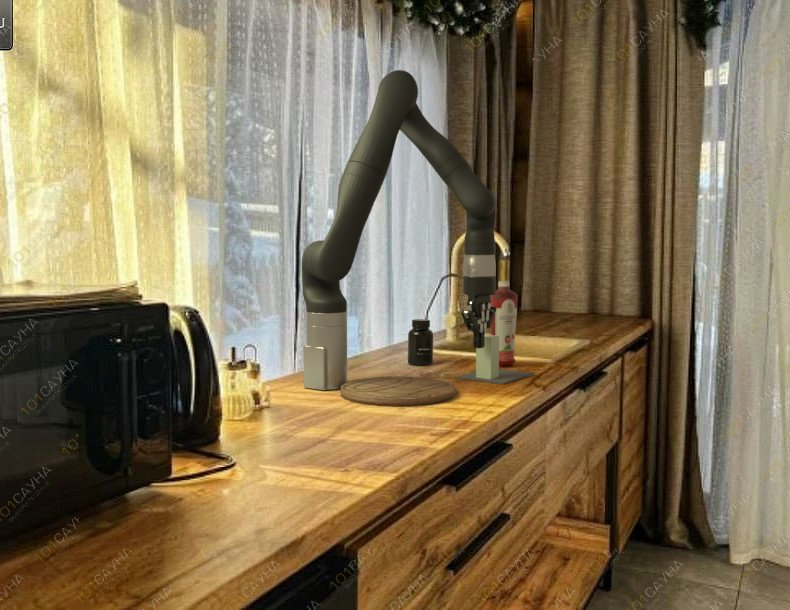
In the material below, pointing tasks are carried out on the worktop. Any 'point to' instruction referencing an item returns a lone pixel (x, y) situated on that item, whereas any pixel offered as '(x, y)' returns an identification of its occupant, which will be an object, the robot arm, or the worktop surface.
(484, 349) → the block
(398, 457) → the worktop surface
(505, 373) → the mat
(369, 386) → the trivet
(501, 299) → the red sauce bottle
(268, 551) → the worktop surface
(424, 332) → the supplement bottle
